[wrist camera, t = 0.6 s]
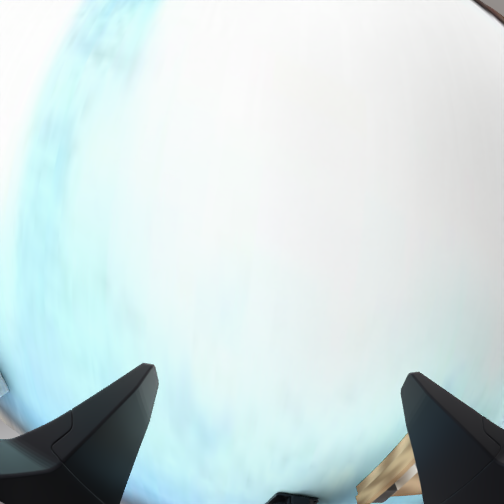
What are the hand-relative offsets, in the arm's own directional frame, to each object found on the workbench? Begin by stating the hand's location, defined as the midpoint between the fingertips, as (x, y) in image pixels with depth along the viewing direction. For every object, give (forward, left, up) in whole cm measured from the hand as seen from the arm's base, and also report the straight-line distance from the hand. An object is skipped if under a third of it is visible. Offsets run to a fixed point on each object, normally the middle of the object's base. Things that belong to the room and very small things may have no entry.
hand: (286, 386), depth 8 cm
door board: (-17, -32, -15) cm, 39 cm away
